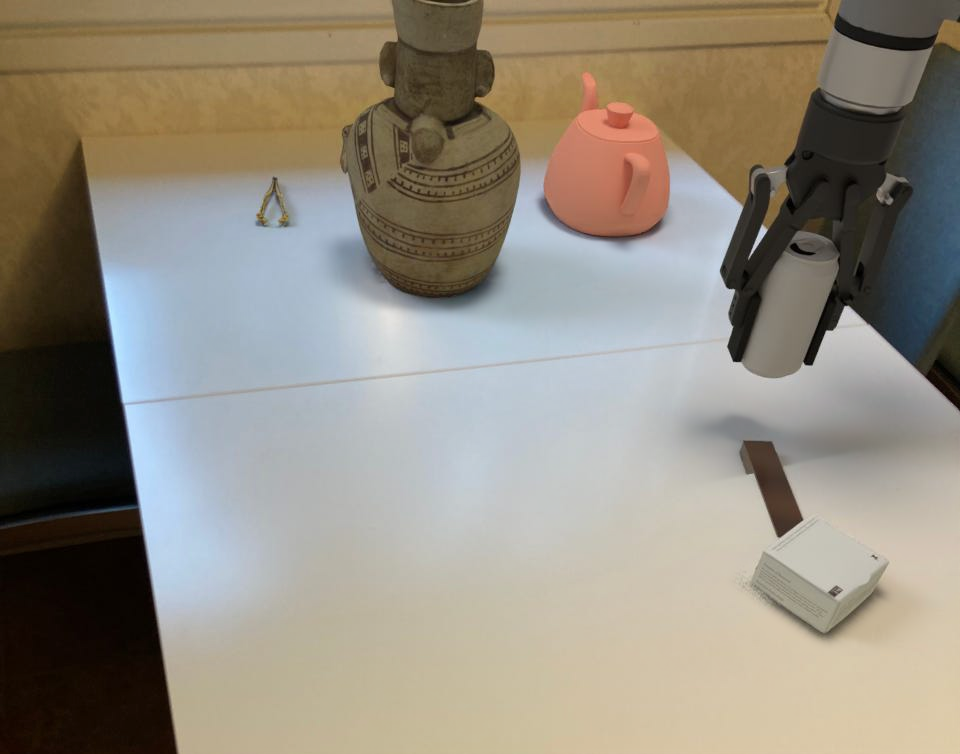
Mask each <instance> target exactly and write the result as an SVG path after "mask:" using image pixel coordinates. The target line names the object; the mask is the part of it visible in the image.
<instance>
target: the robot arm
mask: <svg viewBox="0 0 960 754" xmlns="http://www.w3.org/2000/svg"><path fill="white" fill-rule="evenodd" d="M944 21H952V22H956V23H958V24H960V0H840V2H839V6H838V8H837V13H836V16H835V19H834V21H833V24H832V27H831V31H830V34H829V36H828V41H827V44H826V46H825V49H824V53H823V56H822V60H821V62H820V66H819V69H818V72H817V75H816V79H815V81H816V83H817V85H818V87H817V88H815V90H813V91H812V92H811V94H810V97H809V99H808V104H807V106H806V109H805V113H804V116H803V118H802V122H801V124H800V129H799V130H798V134H797V139H796V143H795V146H794V148H793V151H792V152H791V154H790V155H789V156H788V157H787V158H786V159H785V161H784V163H783V164H781V165H776V166H773V167H772V166H771V167H767V168H764V166H763V165H762V164H760V163H759V164H755V165H753V166H752V167H751V168H750V169H749V173H748V194H747V196H746V199H745V202H744V204H743V207H742V210H741V212H740V215H739V217H738V220H737V222H736V225H735V228H734V231H733V233H732V236H731V239H730V241H729V244H728V247H727V249H726V252H725V255H724V257H723V260H722V262H721V266H720V269H719V274H720V276H721V279H722V282H723V283H724V286H725V288H726V289H727V290H734V292H733V295H732V299H731V301H730V302H731V303H730V306H729V310H728V312H727V315H728V320H729V322H730V325H731V327H732V330H731V333H730V336H729V339H728V342H727V346H726V347H727V351H728V352H729V355H730V358H731V361H732V362H733V363H742V362H741V360H742V357H743V354H744V351H745V348H746V345H747V342H748V339H749V336H750V333H751V330H752V327H753V324H754V321H755V318H756V315H757V312H758V309H759V305H760V302H761V297H760V295H759V293H758V291H757V289H758V288H759V286H760V285H761V284H762V282H763V281H764V279H765V278H766V276H767V275H768V273H769V272H770V270H771V269H772V268H773V266H774V265H775V263H776V262H777V260H778V259H779V257H780V256H781V254H782V253H783V252H784V250H785V249H786V247H787V246H788V244H789V243H790V241H791V240H792V238H793V237H794V235H795V234H796V233H797V231H801V230H802V231H803V229H804V228H805V226H806V225H807V224H808V222H809V220H816V219H817V220H818V219H822V218H824V219H828V220H830V221H832V239H831V241H832V242H833V244H834V245H835V247H836V249H837V250H838V252H839V253H840V255H839V258H838V263H839V270H838V273H837V275H836V278H835V280H834V283H833V286H832V288H831V291H830V293H829V296H828V299H827V301H826V304H825V306H824V309H823V311H822V314H821V317H820V319H819V322H818V324H817V327H816V330H815V332H814V335H813V337H812V340H811V343H810V345H809V348H808V350H807V353H806V355H805V358H804V361H803V364H804V366H806V367H807V366H808V367H813V365H814V364H815V361H816V359H817V357H818V353H819V350H820V348H821V346H822V343H823V340H824V338H825V335H826V333H827V332H833V331H834V330H835V329H836V328H837V327H838V324H839V322H840V319H841V316H842V314H843V312H844V309H845V307H849V306H851V305H852V304H853V303H854V301H855V297H856V296H860V295H861V296H862V297H868V296H870V295H871V294H872V293H873V292H874V290H875V287H876V285H877V280H878V278H879V275H880V272H881V269H882V265H883V262H884V261H885V260H884V259H885V257H886V253H887V252H888V251H887V250H888V247H889V245H890V242H891V239H892V235H893V233H894V229H895V226H896V223H897V220H898V217H899V215H900V213H901V211H903V209H904V207H905V206H906V204H907V203H908V201H909V200H910V198H911V197H912V196H913V194H914V187H912V185H911V184H910V182H909V181H908V180H907V179H906V177H905V176H904V175H903V174H902V173H899V172H898V173H894V174H891V173H888V172H887V162H888V159H889V157H891V155H892V153H893V151H894V149H895V145H896V143H897V141H898V138H899V136H900V133H901V130H902V127H903V125H904V122H905V120H906V117H907V115H908V113H907V110H906V105H908V104H909V103H911V102H913V100H914V97H915V95H916V92H917V89H918V87H919V84H920V82H921V79H922V77H923V74H924V72H925V68H926V67H927V63H928V61H929V58H930V56H931V53H932V51H933V48H934V46H935V43H936V41H937V38H938V36H939V31H940V29H941V27H942V25H943V23H944ZM783 183H785V184H786V187H787V191H788V194H787V195H786V196H785V199H784V200H783V201H782V203H781V205H780V206H779V211H778V214H777V216H776V217H775V219H774V220H773V221H772V223H771V225H770V226H769V228H768V229H767V231H766V232H765V234H764V235H763V237H762V238H761V240H760V241H759V243H758V244H757V245H756V247H755V249H754V250H753V248H754V246H755V243H756V241H757V238H758V236H759V233H760V231H761V228H762V225H763V223H764V221H765V218H766V215H767V214H768V210H769V206H770V201H771V198H772V199H773V198H774V197H776V195H777V193H778V190H779V187H780V186H781V185H782V184H783ZM875 192H876V198H877V199H876V201H875V203H874V206H873V208H872V212H871V216H870V218H869V222H868V225H867V228H866V231H865V235H864V238H863V242H862V244H861V247H860V250H859V254H858V257H857V261H856V264H855V249H856V232H857V230H858V226H859V211H860V206H861V205H862V204H864V202H866V201H867V200H868V199H869V198H870V197H872V195H874V193H875ZM854 265H855V266H854ZM854 267H855V268H854Z"/></svg>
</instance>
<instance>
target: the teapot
mask: <svg viewBox="0 0 960 754" xmlns="http://www.w3.org/2000/svg"><path fill="white" fill-rule="evenodd" d="M581 82H582V98H581V99H582V100H581V104H580V109H579V113H578V115H576V117H575V118H574V119H573V120H572V122H571V123H570V124H569V126H568V127H567V128H566V130H565V132H564V133H563V135H562V136H561V138H560V139H559V141H558V143H557V144H556V146H555V148H554V149H553V152H552V153H551V157H550V158H549V162H548V164H547V168H546V171H545V174H544V179H543V186H542V187H543V193H544V198H545V200H546V201H547V204H548V205H549V208H550V209H551V211H552V212H553V214H554V216H555V218H557V219H558V220H559V221H560V222H561V223H563V224H564V225H566V226H567V227H569V228H571V229H572V230H575V231H577V232H580V233H583V234H587V235H592V236H598V237H599V236H600V237H628V236H634V235H640V234H642V232H643V233H646V232H647V231H649V230H650V229H652V227H654V226H655V225H656V224H657V223H659V221H661V219H663V217H664V216H665V215H666V213H667V210H668V208H669V202H670V194H671V192H670V191H671V175H670V174H671V173H670V167H669V162H668V157H667V154H666V149H665V145H664V142H663V139H662V136H661V133H660V131H659V129H658V127H657V126H656V124H655V123H654V122H653V121H652V120H650V119H649V118H647V117H645V116H644V115H642V114H640V113H637V112H635V107H633V106H632V105H630V104H629V103H625V102H618V101H616V102H610V103H608V104H607V105H606V108H599V107H600V105H599V97H598V86H597V83H596V80H595V78H594V76H593V75H592V74H591V73H590V72H587V71H585V72H582V75H581Z"/></svg>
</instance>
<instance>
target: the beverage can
mask: <svg viewBox="0 0 960 754" xmlns="http://www.w3.org/2000/svg"><path fill="white" fill-rule="evenodd" d="M839 255H840V253H839V252H838V250H837V249H836V247H835V245H834V244H833V242H832V239H829V238H828V237H825V236H823V235H821V234H817V233H814V232H809V231H803V230H802V231H801V230H800V231H797V233H796V234H795V235H794V237H793V238H792V240H791V241H790V243H789V244H788V246H787V247H786V249H785V250H784V252H783V253H782V254H781V256H780V257H779V259H778V260H777V262H776V263H775V265H774V266H773V268H772V269H771V270H770V272H769V273H768V275H767V276H766V278H765V279H764V281H763V282H762V284H761V285H760V286H759V288H758V289H757V291H758V293H759V295H760V297H761V302H760V305H759V309H758V312H757V315H756V318H755V321H754V324H753V327H752V330H751V333H750V336H749V339H748V342H747V345H746V348H745V351H744V354H743V357H742V360H741V362H740V363H741V364H742V366H743V368H745V370H746V371H748V372H749V373H752V374H753V375H756V376H758V377H762V378H766V379H782V378H785V377H788V376H791V375H794V374H796V373H797V372H799V371H800V370H801V368H802V365H803V364H804V362H803V361H804V358H805V355H806V353H807V350H808V348H809V345H810V343H811V340H812V337H813V335H814V332H815V330H816V327H817V324H818V322H819V319H820V317H821V314H822V311H823V309H824V306H825V304H826V301H827V299H828V296H829V293H830V291H831V288H832V286H833V283H834V280H835V278H836V275H837V273H838V270H839V263H838V258H839Z"/></svg>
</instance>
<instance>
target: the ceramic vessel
mask: <svg viewBox="0 0 960 754" xmlns="http://www.w3.org/2000/svg"><path fill="white" fill-rule="evenodd" d="M391 4H392V12H393V20H394V27H395V31H396V35H397V41H386V42H385V43H384V44H383V46H382V48H381V50H380V52H379V57H378V58H379V60H378V68H379V76H380V78H381V80H382V82H383V84H384V85H385V86H386V87H389V88H393V89H394V90H393V96H391V97H390V96H389V97H386V98H384V99H381V101H379V102H377V103H375V104H372V105H371V106H369V107H367V108H366V109H365V110H363V111H362V112H361V113H360V114H359V115H358V116H357V117H356V119H354V122H353V123H351V124H347V125H345V126H344V127H343V128H342V129H341V138H342V147H341V148H342V149H341V153H340V157H339V164H340V168H341V170H342V173H343V174H344V175H346V174H347V175H348V180H349V185H350V189H351V195H352V198H353V203H354V208H355V214H356V218H357V222H358V227H359V230H360V234H361V236H362V239H363V241H364V245H365V247H366V250H367V252H368V254H369V256H370V258H371V259H372V261H373V263H374V265H375V266H376V268H377V270H378V271H379V272H380V274H381V276H382V277H383V278H384V279H385V280H386V281H387V282H388V284H390V285H391V287H393V288H394V289H396V290H397V291H400V292H403V293H405V294H408V295H411V296H415V297H416V296H417V297H421V298H427V299H428V298H429V299H442V298H443V299H444V298H449V299H450V298H454V297H456V296H460V295H463V294H465V293H467V292H471V291H473V290H475V289H476V288H477V287H478V286H479V284H480V283H481V282H482V281H483V280H484V279H485V278H486V277H487V276H488V274H489V273H490V272H491V270H493V267H494V266H495V263H496V261H497V259H498V258H499V255H500V253H501V250H502V248H503V246H504V242H505V240H506V237H507V234H508V231H509V228H510V225H511V221H512V218H513V214H514V212H515V211H514V210H515V207H516V202H517V198H518V194H519V189H520V181H521V175H522V174H521V172H522V169H521V168H522V166H521V165H522V164H521V163H522V162H521V154H520V153H521V152H520V148H519V144H518V141H517V138H516V136H515V134H514V132H513V130H512V129H511V126H510V125H509V123H508V122H507V121H506V120H505V119H504V118H503V117H502V116H501V115H500V114H499V113H497V112H496V111H494V110H493V109H491V108H489V107H487V106H486V105H485V104H483V103H481V102H479V101H476V98H481V99H482V98H485V97H486V96H487V95H488V94H490V92H491V91H492V90H493V89H492V88H493V84H494V82H495V78H496V74H495V73H496V67H495V64H494V59H493V56H492V54H491V52H490V51H488V50H486V49H478V47H477V46H478V40H479V37H480V34H481V30H482V25H483V24H482V23H483V17H484V16H483V15H484V5H485V2H484V0H391Z"/></svg>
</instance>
